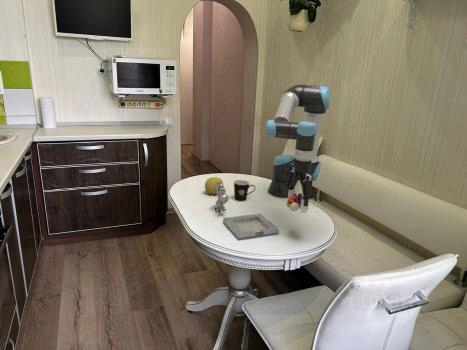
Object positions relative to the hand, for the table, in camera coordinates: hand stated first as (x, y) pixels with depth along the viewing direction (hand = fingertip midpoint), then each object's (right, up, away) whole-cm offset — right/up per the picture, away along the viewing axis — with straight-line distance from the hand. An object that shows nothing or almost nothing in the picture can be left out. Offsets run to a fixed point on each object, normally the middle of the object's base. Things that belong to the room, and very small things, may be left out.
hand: (296, 207), depth 155 cm
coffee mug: (-23, 0, +42) cm, 48 cm away
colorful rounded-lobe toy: (0, -1, 0) cm, 1 cm away
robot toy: (-34, -4, +25) cm, 43 cm away
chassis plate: (-20, -10, +8) cm, 24 cm away
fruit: (-40, +4, +49) cm, 63 cm away
